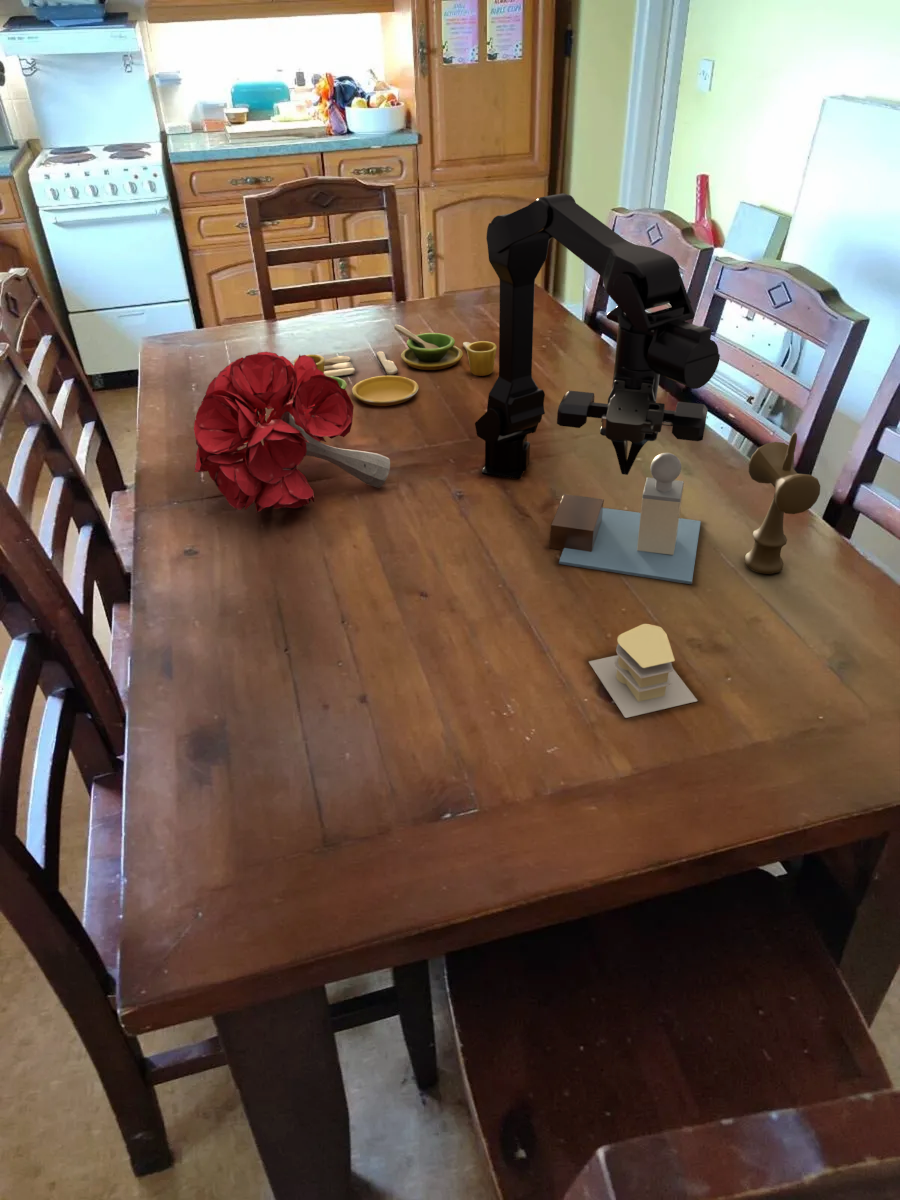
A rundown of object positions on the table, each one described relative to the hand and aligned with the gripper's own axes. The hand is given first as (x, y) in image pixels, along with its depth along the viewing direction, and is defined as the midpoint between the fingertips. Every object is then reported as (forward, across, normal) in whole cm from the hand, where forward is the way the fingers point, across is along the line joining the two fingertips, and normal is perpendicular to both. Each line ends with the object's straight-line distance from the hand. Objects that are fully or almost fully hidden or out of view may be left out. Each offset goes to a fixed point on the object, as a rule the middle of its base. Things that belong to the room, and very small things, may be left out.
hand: (625, 473), depth 117 cm
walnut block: (+11, -6, 0) cm, 13 cm away
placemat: (+11, +2, 0) cm, 11 cm away
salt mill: (+7, +1, 0) cm, 7 cm away
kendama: (+11, +20, -1) cm, 23 cm away
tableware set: (+11, -52, +48) cm, 72 cm away
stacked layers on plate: (+11, +7, -29) cm, 32 cm away
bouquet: (+11, -50, -1) cm, 51 cm away
